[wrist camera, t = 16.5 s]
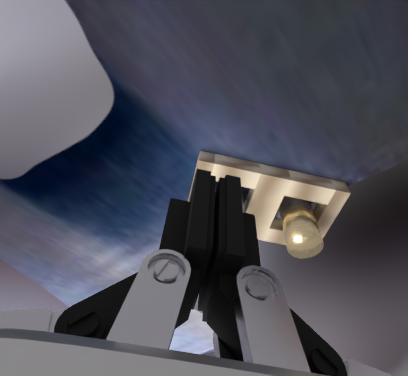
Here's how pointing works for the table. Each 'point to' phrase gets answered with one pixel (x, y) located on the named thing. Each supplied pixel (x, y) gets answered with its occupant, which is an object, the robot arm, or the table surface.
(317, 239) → the gold metallic cylinder
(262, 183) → the jig
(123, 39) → the table surface
